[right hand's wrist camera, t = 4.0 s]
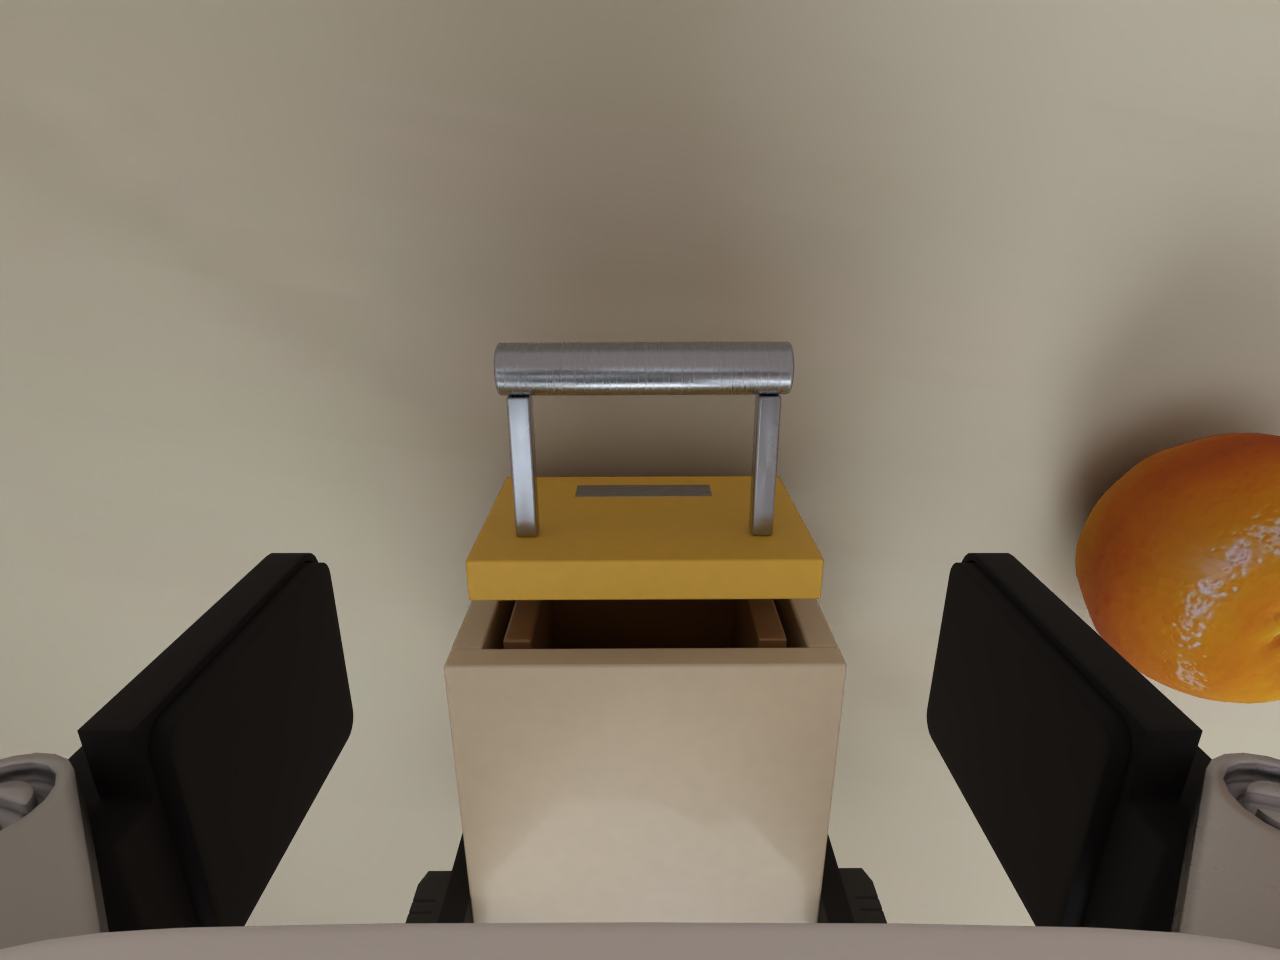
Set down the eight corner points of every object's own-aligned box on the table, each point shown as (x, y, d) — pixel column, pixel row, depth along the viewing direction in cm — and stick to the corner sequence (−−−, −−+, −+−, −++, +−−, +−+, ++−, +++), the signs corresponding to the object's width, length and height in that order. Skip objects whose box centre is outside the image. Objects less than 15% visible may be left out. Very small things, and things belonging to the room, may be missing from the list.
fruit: (1272, 735, 25) (1475, 772, 18) (1015, 645, 28) (1099, 644, 20) (1325, 511, 27) (1536, 455, 19) (1075, 442, 29) (1175, 369, 21)
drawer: (495, 318, 23) (444, 355, 17) (789, 317, 23) (843, 354, 17) (526, 749, 29) (496, 891, 23) (761, 748, 29) (793, 889, 23)
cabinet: (499, 534, 27) (442, 665, 19) (787, 532, 27) (848, 664, 19) (520, 805, 31) (481, 1003, 23) (767, 804, 31) (810, 1001, 23)
